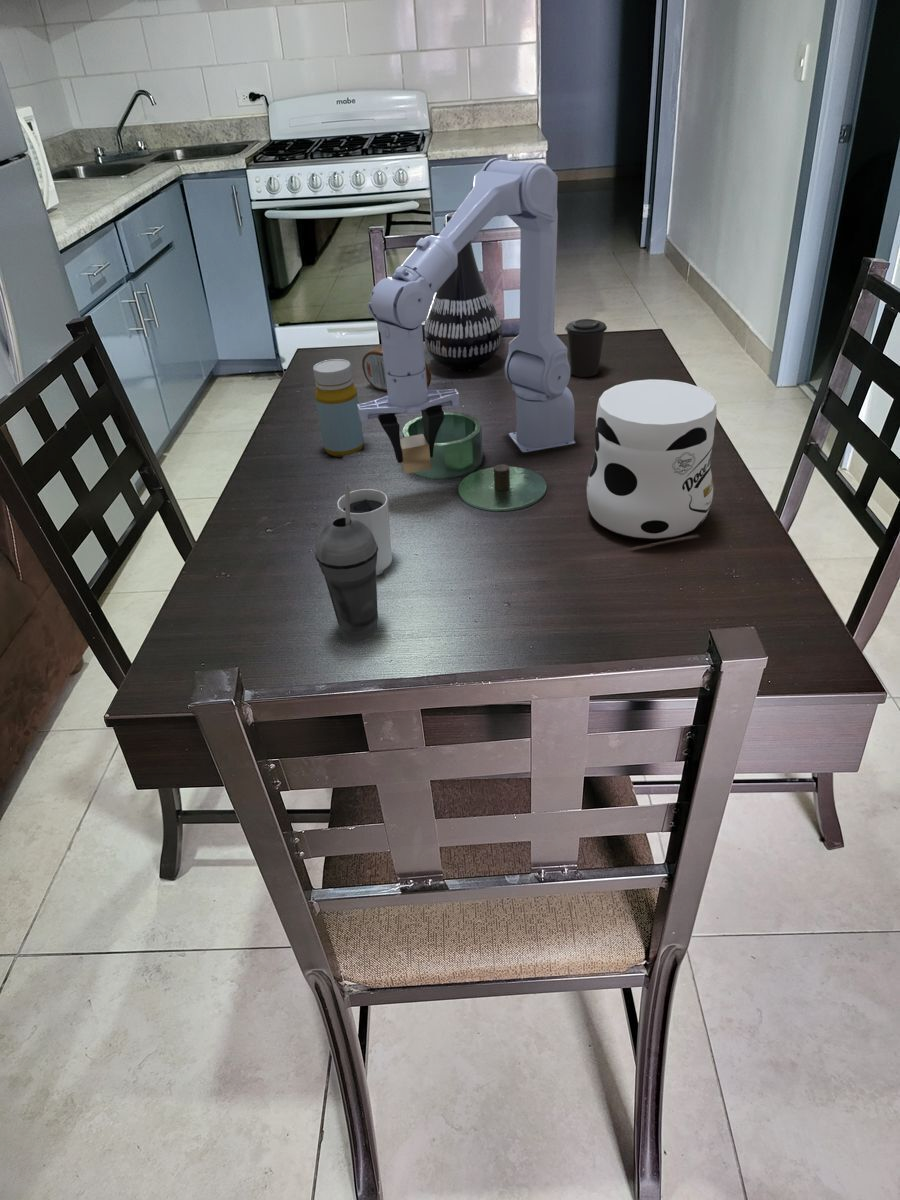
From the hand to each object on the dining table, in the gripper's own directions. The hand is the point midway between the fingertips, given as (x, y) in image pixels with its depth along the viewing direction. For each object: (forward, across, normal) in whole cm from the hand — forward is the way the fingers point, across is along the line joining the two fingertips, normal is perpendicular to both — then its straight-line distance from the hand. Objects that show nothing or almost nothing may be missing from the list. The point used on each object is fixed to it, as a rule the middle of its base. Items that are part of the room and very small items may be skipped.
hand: (414, 457), depth 124 cm
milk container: (+8, +30, -17) cm, 35 cm away
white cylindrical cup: (+8, -10, -15) cm, 20 cm away
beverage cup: (+8, -14, -29) cm, 33 cm away
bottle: (+8, -8, +23) cm, 25 cm away
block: (+1, 0, 0) cm, 1 cm away
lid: (+7, +13, -2) cm, 15 cm away
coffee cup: (+7, +43, +39) cm, 59 cm away
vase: (+8, +22, +53) cm, 58 cm away
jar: (+8, +7, +11) cm, 15 cm away
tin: (+8, +6, +45) cm, 46 cm away
